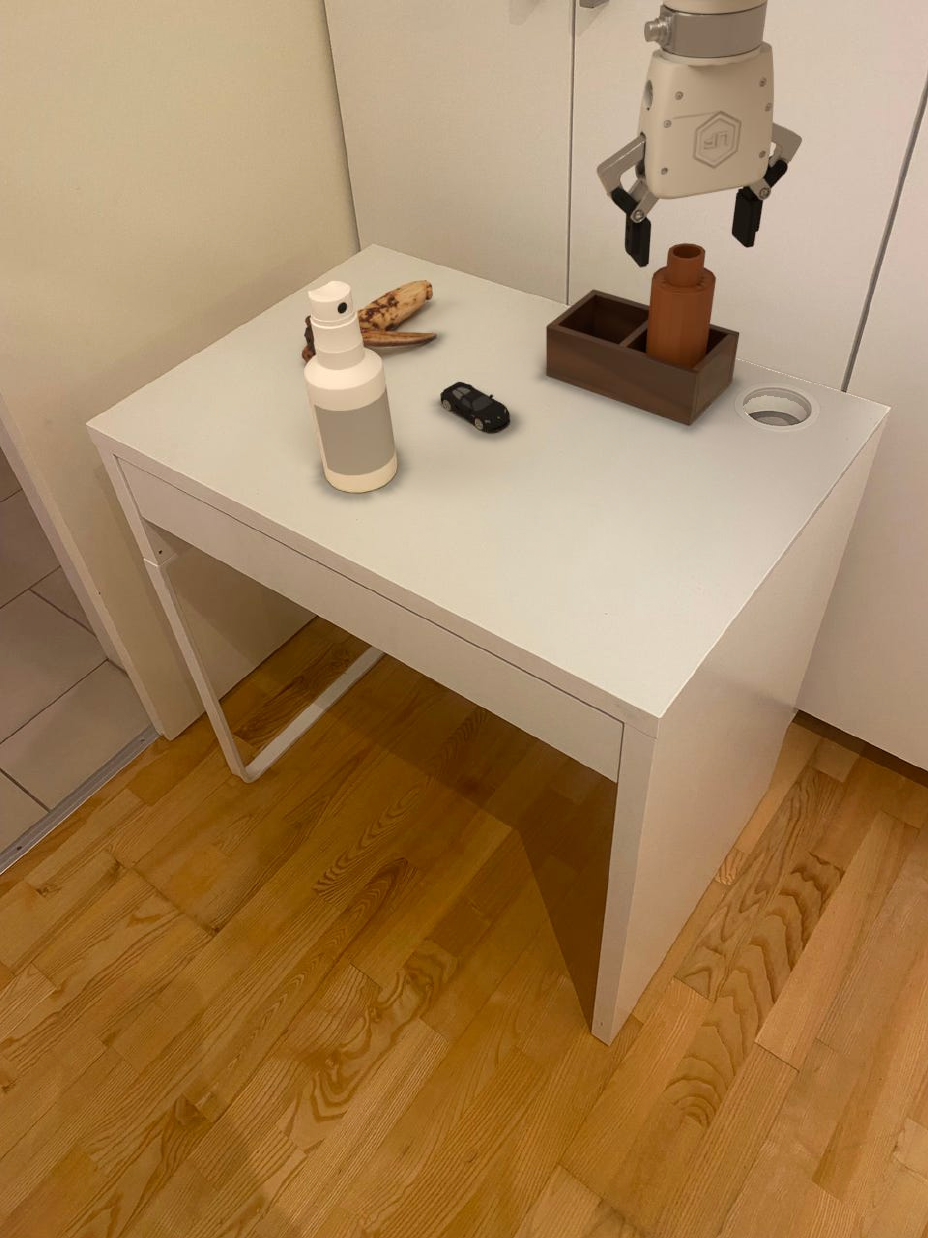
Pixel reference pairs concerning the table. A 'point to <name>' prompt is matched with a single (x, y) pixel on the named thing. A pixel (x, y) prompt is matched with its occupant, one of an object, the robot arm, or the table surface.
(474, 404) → the toy car
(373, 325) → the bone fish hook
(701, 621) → the table surface
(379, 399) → the spray bottle
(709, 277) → the bottle
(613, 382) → the holder
